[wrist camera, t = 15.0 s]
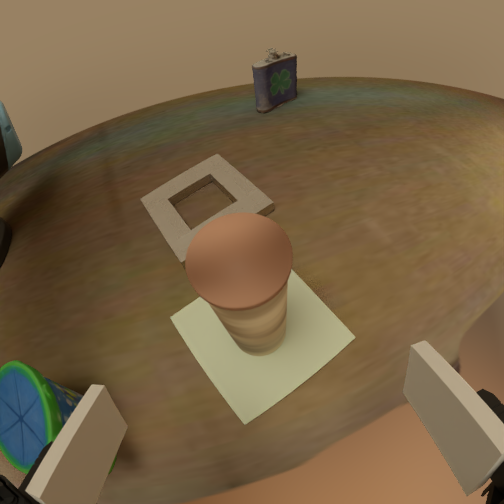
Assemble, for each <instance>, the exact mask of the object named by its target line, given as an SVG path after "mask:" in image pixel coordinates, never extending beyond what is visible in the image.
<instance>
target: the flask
mask: <svg viewBox="0 0 504 504" xmlns="http://www.w3.org/2000/svg"><path fill="white" fill-rule="evenodd" d="M271 49H273V48H270V49H268V50H270V51H269V55H268V57H269V58H266V59H264V60H262V61H259V62H257V63H255V64H253V65H252V70H253V78H254V87H255V96H256V109H257V111H258V112H261V113H264V112H269V111H272V109H274V108H277V107H280V106H282V105H283V103H287V102H288V101H292V100H294V99H296V98H297V91H296V86H297V76H296V73H297V71H296V67H297V61H296V59H297V56H296V55H295V54H292V53H285V52H283V53H281V54H277V53H276V52H277V51H276V50H275V49H273V50H271Z"/></svg>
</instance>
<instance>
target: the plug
mask: <svg viewBox="0 0 504 504" xmlns="http://www.w3.org/2000/svg"><path fill="white" fill-rule="evenodd" d="M185 267H186V273H187V276H188V279H189V281H190V283H191V285H192V286H193V288H194V289H195V291H196V292H197V293H198V294H199V296H200V297H201V298H203V299H204V300H205V301H206V302H208V303H209V305H210V306H211V308H212V309H213V311H214V312H215V314H216V315H217V317H218V318H219V320H220V321H221V323H222V324H223V326H224V327H225V329H226V330H227V331H228V333H229V334H230V336H231V337H232V339H233V340H234V341H235V343H236V344H237V346H238V347H239V348H240V349H241V350H242V351H243V352H245V353H247V354H249V355H252V356H265V355H268V354H271V353H273V352H274V351H276V350H277V349H278V348H279V347H280V346H281V344H282V343H283V341H284V338H285V334H286V315H287V288H288V279H289V276H290V273H291V269H292V246H291V243H290V240H289V238H288V236H287V235H286V233H285V232H284V230H283V229H282V228H281V227H280V226H279V225H278V224H277V223H275V222H274V221H272V220H271V219H269V218H267V217H265V216H262V215H259V214H254V213H246V212H240V213H232V214H227V215H224V216H221V217H219V218H216V219H214V220H213V221H211V222H209V223H208V224H206V225H205V226H204V227H203V228H202V229H200V230H199V231H198V233H197V234H196V235H195V236H194V238H193V239H192V241H191V243H190V245H189V247H188V250H187V253H186V260H185Z"/></svg>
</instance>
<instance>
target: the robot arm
mask: <svg viewBox="0 0 504 504" xmlns="http://www.w3.org/2000/svg"><path fill="white" fill-rule="evenodd" d="M21 154H22V146H21V143H20V141H19V139H18V136H17V134H16V132H15V129H14V127H13V125H12V123H11V120H10V118H9V116H8V114H7V111H6V109H5V107H4V105H3V103H2V102H1V101H0V178H1V177H2V176H3V175H4V174H5V173H6V172H7V171H9V170H10V169H11V167H12V166H13V164H14V163H15V162H16V161H17V160H18V159H19V158H20V156H21ZM10 240H11V227H10V225H9V224H8V223H7V222H6V221H5V220H4V219H2V218H0V266H1V264H2V262H3V260H4V258H5V256H6V253H7V251H8V248H9V244H10ZM403 394H404V395H405V397H406V398H407V400H408V401H409V403H410V404H411V406H412V407H413V409H414V410H415V412H416V413H417V415H418V416H419V418H420V419H421V421H422V423H423V424H424V426H425V427H426V429H427V431H428V432H429V434H430V435H431V437H432V439H433V440H434V442H435V443H436V445H437V447H438V448H439V450H440V452H441V453H442V455H443V456H444V458H445V460H446V461H447V463H448V465H449V466H450V468H451V470H452V471H453V473H454V475H455V477H456V478H457V480H458V482H459V483H460V485H461V487H462V489H463V491H464V492H465V494H466V496H468V495H469V494H471V493H473V492H474V491H476V490H477V489H479V488H480V487H481V486H483V485H484V484H485V483H486V482H487V480H488V479H489V478H491V480H492V482H491V483H490V485H489V486H488V487H487V488H486V489H485V490H484V491H483V493H482V495H481V496H484V495H485V494H486V493H487V492H488V491H489V493H488V495H487V496H488V497H487V501H486V504H504V405H503V404H501V402H500V401H499V400H498V398H497V397H496V396H495V395H494V394H492V393H490V392H488V391H486V390H484V389H482V390H480V391H478V392H475V391H474V390H473V389H472V388H471V387H470V386H469V385H468V383H467V382H466V381H465V380H464V379H463V378H462V377H461V376H460V375H459V374H458V373H457V372H456V371H455V370H454V369H453V368H452V367H451V366H450V365H449V364H448V363H447V362H446V360H445V359H444V358H443V357H442V356H441V355H440V354H439V353H438V352H437V351H436V350H435V349H434V348H433V347H432V346H431V345H430V344H429V343H428V342H427V341H426V340H425V341H422V342H419V343H416V344H413V345H411V348H410V355H409V361H408V367H407V373H406V378H405V383H404V388H403ZM127 428H128V426H127V424H126V423H125V421H124V419H123V418H122V416H121V414H120V412H119V411H118V409H117V407H116V405H115V404H114V402H113V400H112V398H111V396H110V394H109V393H108V391H107V389H106V387H105V385H94V384H92V385H91V386H90V388H89V389H88V390H87V392H86V393H85V395H84V396H83V398H82V399H81V401H80V402H79V404H78V405H77V407H76V408H75V410H74V411H73V413H72V414H71V416H70V417H69V419H68V420H67V422H66V424H65V425H64V427H63V428H62V430H61V431H60V433H59V434H58V436H57V438H56V439H55V441H54V442H53V441H51V442H50V443H48V444H47V445H46V446H45V447H44V448H43V449H42V451H41V452H40V454H39V455H38V458H37V459H36V460H35V462H34V464H33V465H32V467H31V469H30V470H29V472H28V474H27V475H26V477H25V479H24V480H23V482H22V484H21V486H20V487H19V488H18V489H17V488H16V487H15V486H14V485H13V484H12V483H11V482H10V481H9V480H8V479H7V478H6V477H5V476H3V475H0V504H96V503H97V501H98V498H99V496H100V493H101V490H102V488H103V485H104V483H105V480H106V478H107V475H108V473H109V470H110V468H111V466H112V463H113V461H114V458H115V456H116V453H117V451H118V449H119V446H120V444H121V442H122V439H123V437H124V435H125V432H126V430H127Z"/></svg>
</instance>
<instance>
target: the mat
mask: <svg viewBox="0 0 504 504" xmlns="http://www.w3.org/2000/svg"><path fill="white" fill-rule="evenodd" d="M170 318H171V320H172V322H173V323H174V325H175V327H176V328H177V330H178V331H179V333H180V335H181V336H182V338H183V339H184V341H185V342H186V344H187V345H188V347H189V349H190V350H191V352H192V353H193V355H194V356H195V358H196V359H197V361H198V362H199V364H200V365H201V367H202V368H203V369H204V371H205V372H206V374H207V375H208V377H209V378H210V379H211V381H212V382H213V384H214V385H215V386H216V388H217V389H218V391H219V392H220V393H221V395H222V396H223V397H224V399H225V400H226V401H227V403H228V404H229V405H230V407H231V408H232V409H233V411H234V412H235V413H236V415H237V416H238V417H239V418H240V420H241V421H242V422H243V423H244V425H246V424H247V423H249V422H250V421H252V420H253V419H255V418H256V417H258V416H259V415H260V414H262V413H263V412H265V411H266V410H268V409H269V408H270V407H272V406H273V405H275V404H276V403H277V402H279V401H280V400H281V399H283V398H284V397H285V396H287V395H288V394H289V393H291V392H292V391H293V390H295V389H296V388H297V387H298V386H300V385H301V384H302V383H303V382H305V381H306V380H307V379H308V378H310V377H311V376H312V375H313V374H315V373H316V372H317V371H318V370H319V369H321V368H322V367H323V366H324V365H325V364H326V363H328V362H329V361H330V360H331V359H332V358H333V357H335V356H336V355H337V354H338V353H339V352H340V351H341V350H342V349H344V348H345V347H346V346H347V345H348V344H349V343H350V342H351V341H352V340H353V339H354V338H355V336H354V335H353V334H352V333H351V332H350V331H349V330H348V329H347V327H346V326H345V325H344V324H343V323H342V322H341V321H340V320H339V319H338V318H337V317H336V316H335V315H334V314H333V312H332V311H331V310H330V309H329V308H328V307H327V306H326V305H325V304H324V303H323V302H322V301H321V300H320V299H319V297H318V296H317V295H316V294H315V293H314V292H313V291H312V290H311V289H310V288H309V287H308V286H307V285H306V284H305V283H304V282H303V280H302V279H301V278H300V277H299V276H298V275H297V274H296V273H295V272H294V271H293V270H292V269H291V273H290V276H289V279H288V288H287V315H286V334H285V338H284V341H283V343H282V344H281V346H280V347H279V348H278V349H277V350H276V351H274V352H273V353H271V354H268V355H265V356H252V355H249V354H247V353H245V352H243V351H242V350H241V349H240V348H239V347H238V346H237V344H236V343H235V341H234V340H233V339H232V337H231V336H230V334H229V333H228V331H227V330H226V329H225V327H224V326H223V324H222V323H221V321H220V320H219V318H218V317H217V315H216V314H215V312H214V311H213V309H212V308H211V306H210V305H209V303H208V302H206V301H205V300H204V299H203V298H201V297H199V298H198V299H196V300H195V301H193V302H192V303H190V304H189V305H187V306H186V307H185V308H183V309H182V310H180V311H179V312H177V313H176V314H174V315H173V316H171V317H170Z"/></svg>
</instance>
